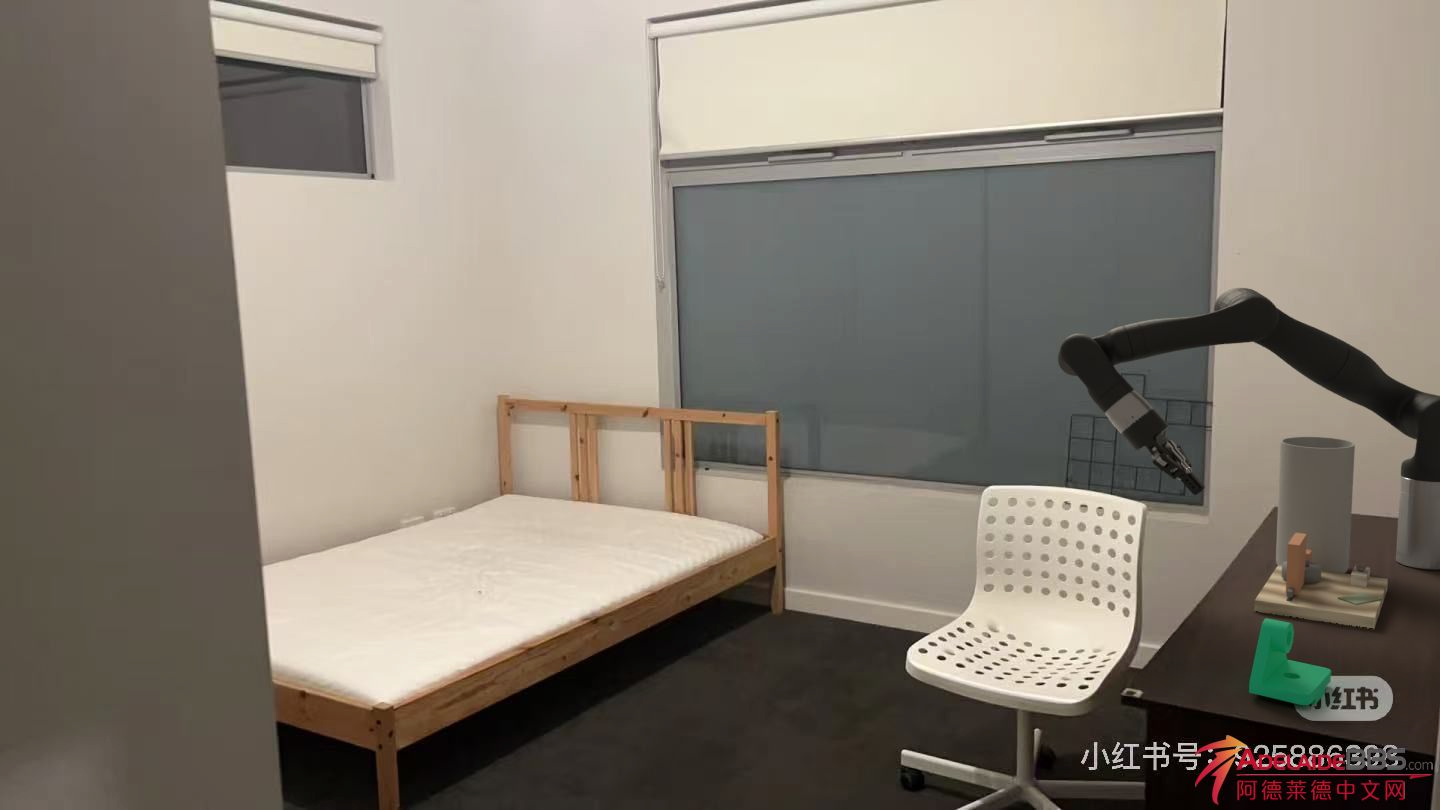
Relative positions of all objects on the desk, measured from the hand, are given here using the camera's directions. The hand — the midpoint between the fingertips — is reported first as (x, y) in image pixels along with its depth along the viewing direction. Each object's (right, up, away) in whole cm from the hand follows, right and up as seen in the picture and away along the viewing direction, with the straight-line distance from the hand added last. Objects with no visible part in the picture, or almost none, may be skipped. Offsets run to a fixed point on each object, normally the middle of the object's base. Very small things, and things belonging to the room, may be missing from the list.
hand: (1200, 491), depth 201 cm
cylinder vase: (+27, -16, +11) cm, 33 cm away
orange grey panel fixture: (+15, -16, -5) cm, 23 cm away
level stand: (+19, -19, -7) cm, 27 cm away
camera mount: (-7, -26, -45) cm, 52 cm away
